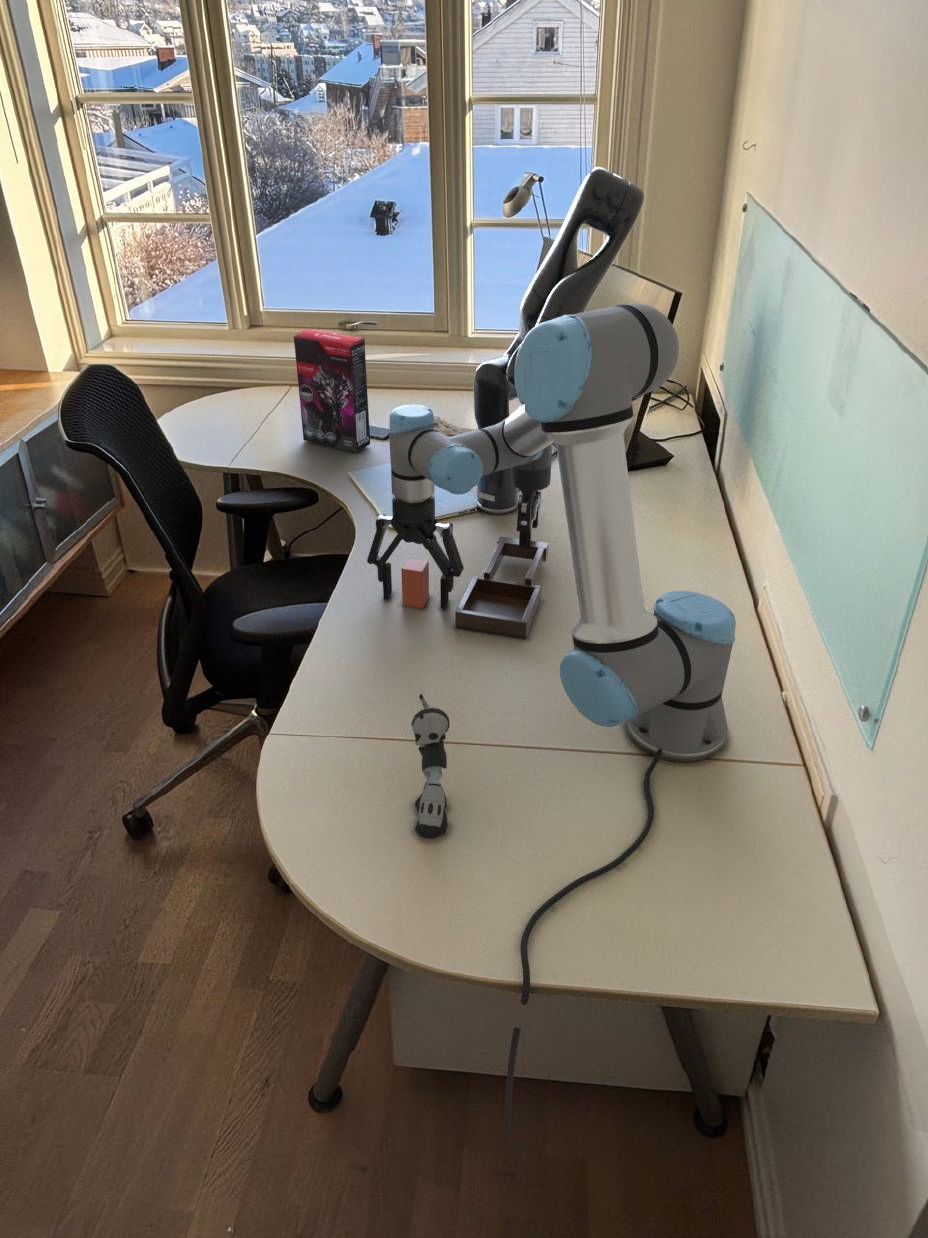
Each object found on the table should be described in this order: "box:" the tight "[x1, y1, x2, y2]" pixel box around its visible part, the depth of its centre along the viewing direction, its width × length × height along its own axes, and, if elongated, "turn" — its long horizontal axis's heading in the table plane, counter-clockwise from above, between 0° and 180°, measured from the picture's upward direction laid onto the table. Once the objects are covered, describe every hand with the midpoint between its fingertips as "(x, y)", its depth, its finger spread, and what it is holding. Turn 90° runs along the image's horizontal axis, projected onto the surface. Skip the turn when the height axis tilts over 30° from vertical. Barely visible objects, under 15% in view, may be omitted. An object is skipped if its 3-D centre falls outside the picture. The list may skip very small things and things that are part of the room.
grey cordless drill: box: [410, 693, 450, 839], centre depth 122 cm, size 20×5×20 cm, turn 3°
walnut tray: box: [454, 535, 549, 640], centre depth 175 cm, size 28×13×4 cm, turn 165°
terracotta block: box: [400, 557, 430, 609], centre depth 171 cm, size 4×4×8 cm
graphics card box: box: [293, 328, 371, 453], centre depth 227 cm, size 17×7×27 cm, turn 62°
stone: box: [434, 416, 478, 437], centre depth 232 cm, size 21×15×6 cm
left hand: (528, 536), depth 183 cm, fingers open, 8 cm apart
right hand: (416, 600), depth 173 cm, fingers open, 10 cm apart
